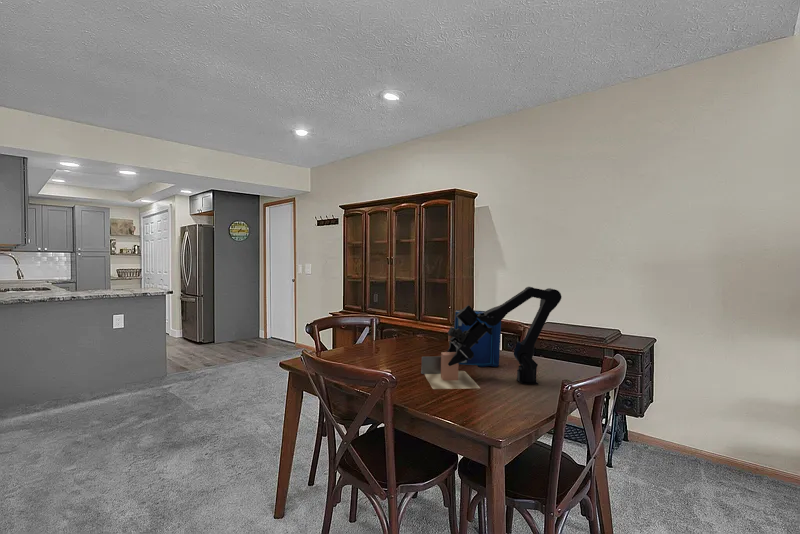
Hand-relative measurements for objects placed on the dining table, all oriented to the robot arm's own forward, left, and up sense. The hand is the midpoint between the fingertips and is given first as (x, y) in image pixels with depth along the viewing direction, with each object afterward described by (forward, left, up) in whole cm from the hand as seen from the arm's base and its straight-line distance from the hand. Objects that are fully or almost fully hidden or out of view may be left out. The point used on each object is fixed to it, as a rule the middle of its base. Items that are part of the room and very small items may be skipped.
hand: (446, 362), depth 169 cm
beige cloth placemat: (-1, +1, -8) cm, 8 cm away
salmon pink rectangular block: (-1, 0, -7) cm, 7 cm away
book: (-19, -24, -8) cm, 32 cm away
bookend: (+3, -7, -7) cm, 10 cm away
